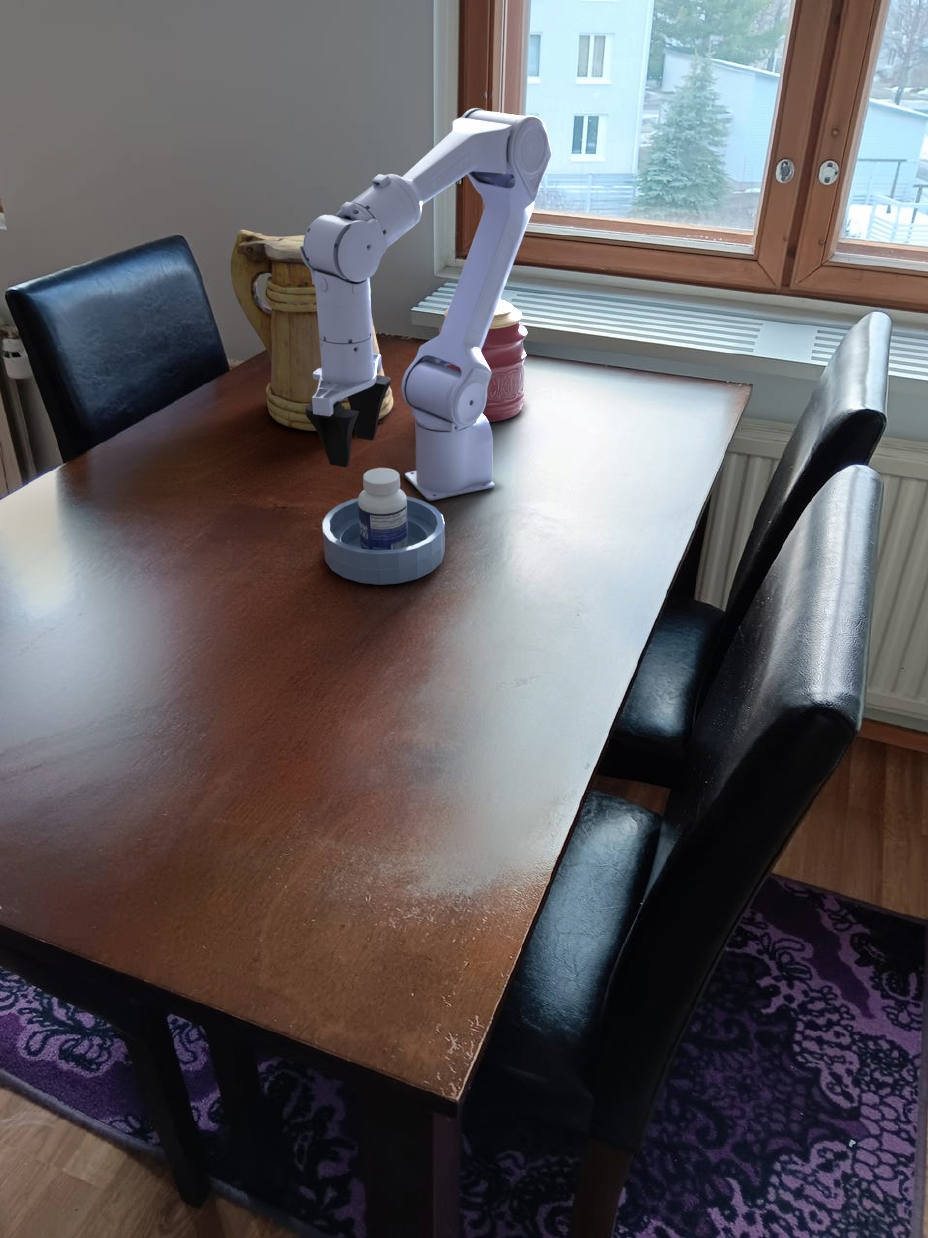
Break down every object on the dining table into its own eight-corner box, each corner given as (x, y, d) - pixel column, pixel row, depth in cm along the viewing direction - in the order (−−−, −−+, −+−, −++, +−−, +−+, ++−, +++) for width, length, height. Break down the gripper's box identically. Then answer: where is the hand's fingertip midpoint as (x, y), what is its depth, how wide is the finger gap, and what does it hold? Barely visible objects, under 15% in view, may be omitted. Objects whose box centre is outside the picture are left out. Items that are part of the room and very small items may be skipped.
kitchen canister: (471, 385, 155) (472, 272, 145) (540, 403, 149) (546, 287, 139) (421, 410, 147) (419, 292, 137) (492, 431, 140) (495, 309, 130)
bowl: (415, 519, 119) (414, 485, 116) (464, 572, 109) (464, 537, 106) (309, 542, 114) (306, 508, 111) (349, 600, 104) (347, 564, 101)
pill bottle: (361, 541, 113) (356, 465, 107) (407, 540, 113) (405, 463, 108) (360, 565, 108) (356, 487, 103) (408, 564, 109) (406, 485, 103)
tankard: (369, 441, 137) (360, 259, 123) (218, 422, 142) (192, 245, 128) (408, 394, 152) (403, 226, 138) (269, 379, 157) (251, 215, 142)
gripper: (339, 312, 111) (346, 422, 119) (281, 352, 100) (293, 472, 108) (396, 318, 110) (399, 430, 117) (344, 360, 98) (351, 481, 106)
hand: (352, 451), depth 113 cm, fingers open, 7 cm apart
